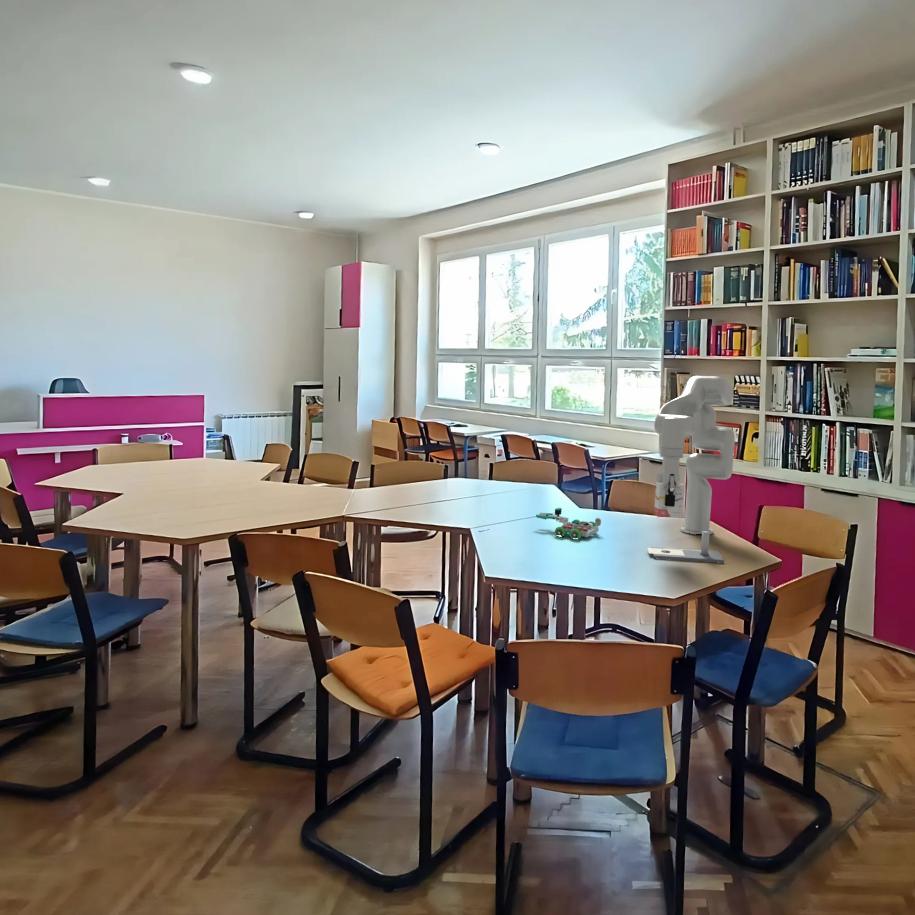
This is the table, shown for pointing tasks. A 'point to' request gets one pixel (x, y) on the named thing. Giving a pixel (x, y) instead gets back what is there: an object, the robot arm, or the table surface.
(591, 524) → the robot kit
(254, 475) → the table surface
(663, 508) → the ink cartridge box
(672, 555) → the plate
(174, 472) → the table surface
